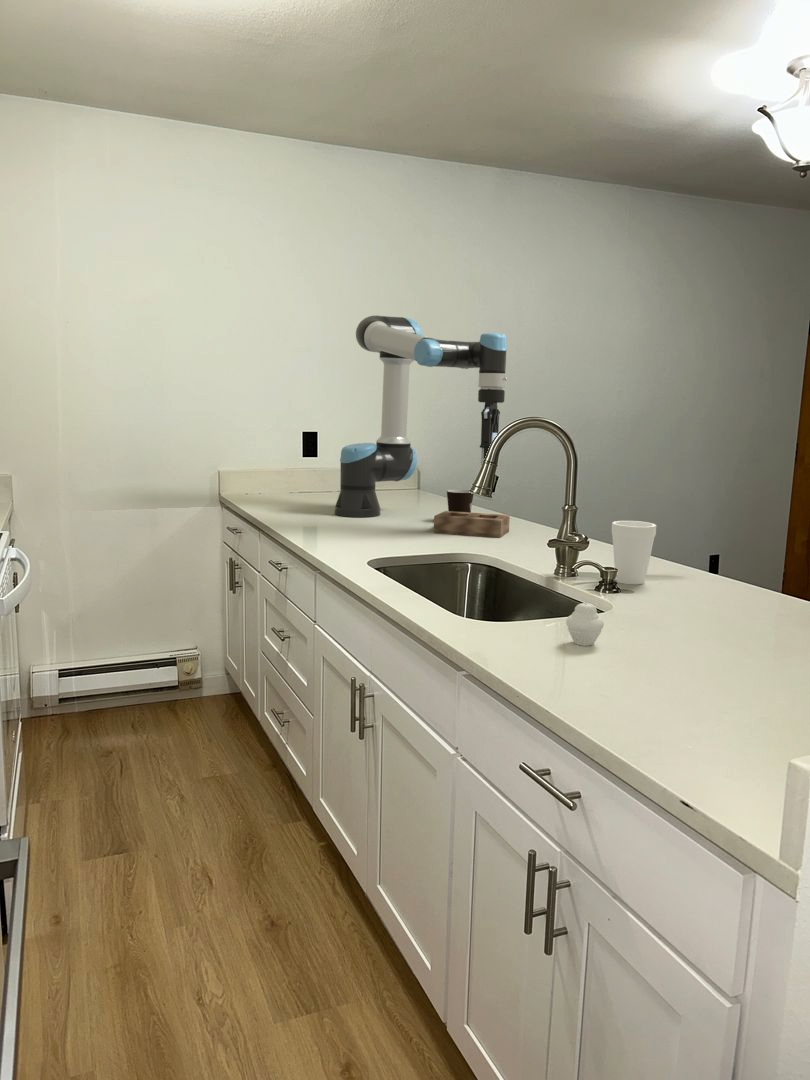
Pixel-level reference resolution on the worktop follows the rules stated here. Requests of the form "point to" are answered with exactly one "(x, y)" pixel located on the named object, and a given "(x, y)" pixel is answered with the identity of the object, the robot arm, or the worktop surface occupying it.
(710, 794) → the worktop surface
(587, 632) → the white lidded urn
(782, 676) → the worktop surface
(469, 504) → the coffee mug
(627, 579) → the foam cup
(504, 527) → the socket block
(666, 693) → the worktop surface
